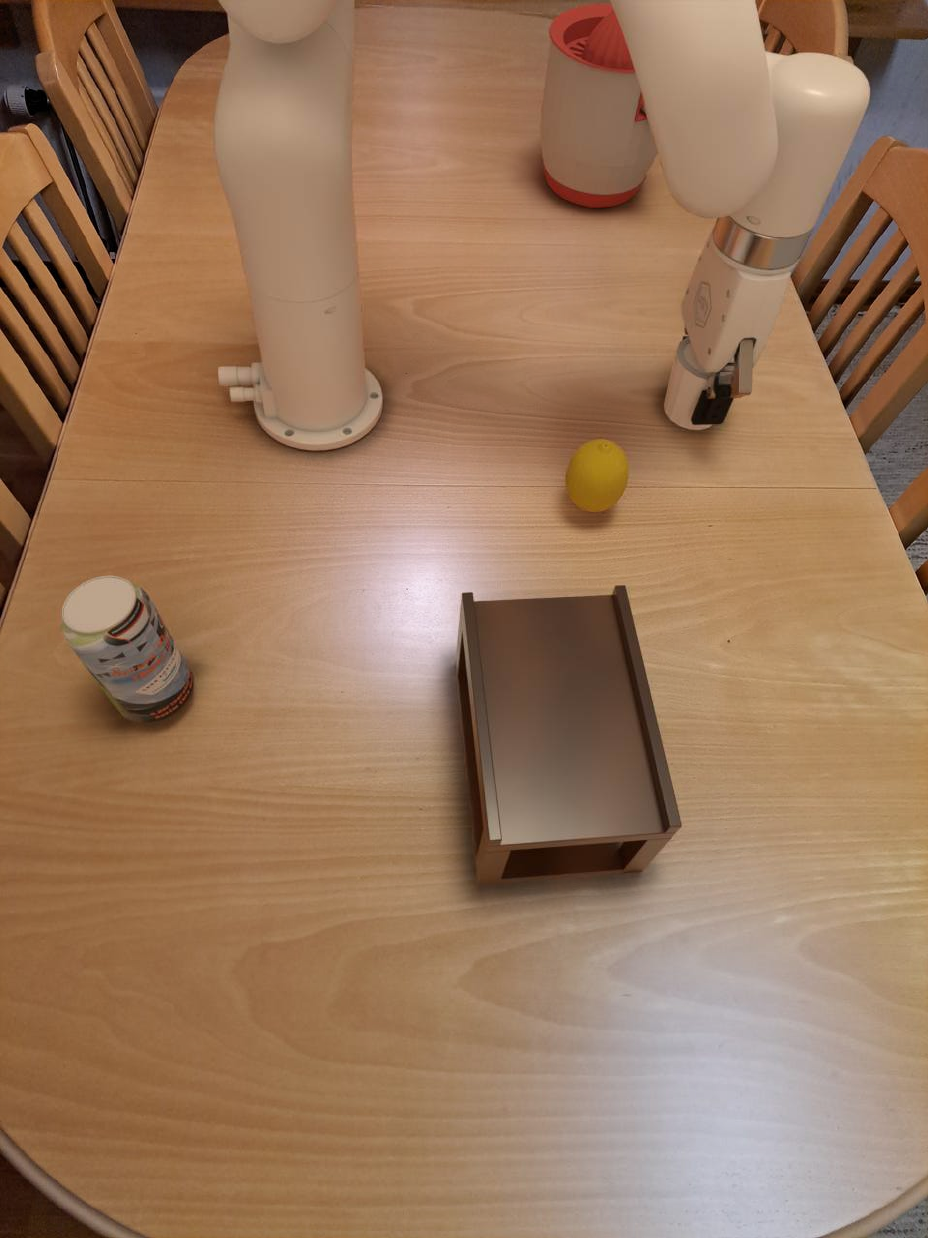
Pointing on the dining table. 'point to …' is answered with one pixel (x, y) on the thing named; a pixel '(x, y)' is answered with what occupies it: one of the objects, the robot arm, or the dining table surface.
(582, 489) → the lemon
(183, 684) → the beverage can
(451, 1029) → the dining table surface
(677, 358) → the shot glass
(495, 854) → the rack
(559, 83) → the citrus juicer
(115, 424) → the dining table surface
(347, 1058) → the dining table surface
